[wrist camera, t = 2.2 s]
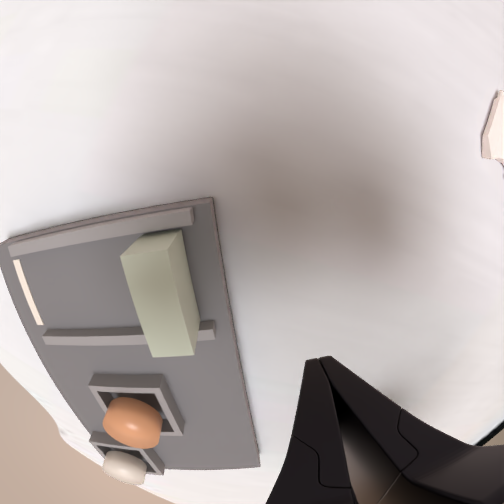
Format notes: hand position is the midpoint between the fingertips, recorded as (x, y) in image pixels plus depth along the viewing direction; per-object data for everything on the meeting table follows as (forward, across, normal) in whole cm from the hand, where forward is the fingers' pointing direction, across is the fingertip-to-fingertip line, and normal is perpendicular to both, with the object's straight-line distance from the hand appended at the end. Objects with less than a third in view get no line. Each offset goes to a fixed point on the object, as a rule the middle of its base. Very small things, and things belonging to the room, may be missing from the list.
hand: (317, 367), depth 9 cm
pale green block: (+9, +6, 0) cm, 11 cm away
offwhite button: (+7, +18, +20) cm, 28 cm away
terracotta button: (+7, +13, +11) cm, 18 cm away
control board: (+11, +12, +10) cm, 19 cm away
